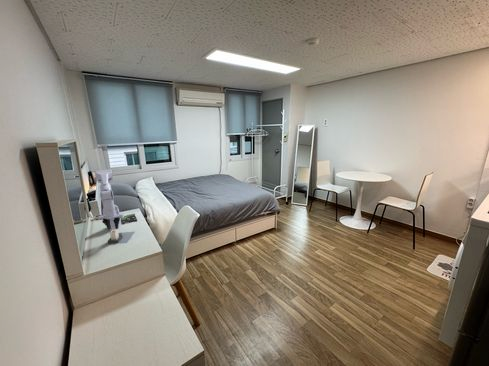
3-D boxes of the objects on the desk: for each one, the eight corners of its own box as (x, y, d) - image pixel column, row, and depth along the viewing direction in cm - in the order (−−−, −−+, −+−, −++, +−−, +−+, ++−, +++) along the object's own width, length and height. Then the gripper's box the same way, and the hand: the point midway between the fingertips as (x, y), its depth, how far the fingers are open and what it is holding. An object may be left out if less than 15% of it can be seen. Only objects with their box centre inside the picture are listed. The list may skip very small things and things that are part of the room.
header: (113, 238, 140) (112, 235, 139) (122, 237, 141) (122, 234, 140) (108, 243, 133) (107, 240, 133) (118, 242, 134) (117, 240, 133)
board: (117, 234, 147) (116, 232, 146) (135, 232, 148) (134, 230, 148) (106, 246, 132) (106, 243, 132) (127, 244, 134) (126, 242, 134)
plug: (114, 239, 139) (112, 229, 137) (119, 238, 139) (117, 228, 137) (111, 242, 135) (109, 232, 133) (116, 241, 135) (114, 231, 133)
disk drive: (137, 222, 166) (134, 216, 177) (137, 219, 165) (134, 213, 176) (123, 226, 160) (120, 219, 171) (122, 223, 159) (120, 216, 171)
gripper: (93, 212, 126) (97, 232, 130) (119, 210, 128) (122, 230, 132) (99, 208, 133) (103, 227, 136) (123, 206, 135) (127, 225, 139)
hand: (113, 228), depth 135 cm, fingers open, 4 cm apart
